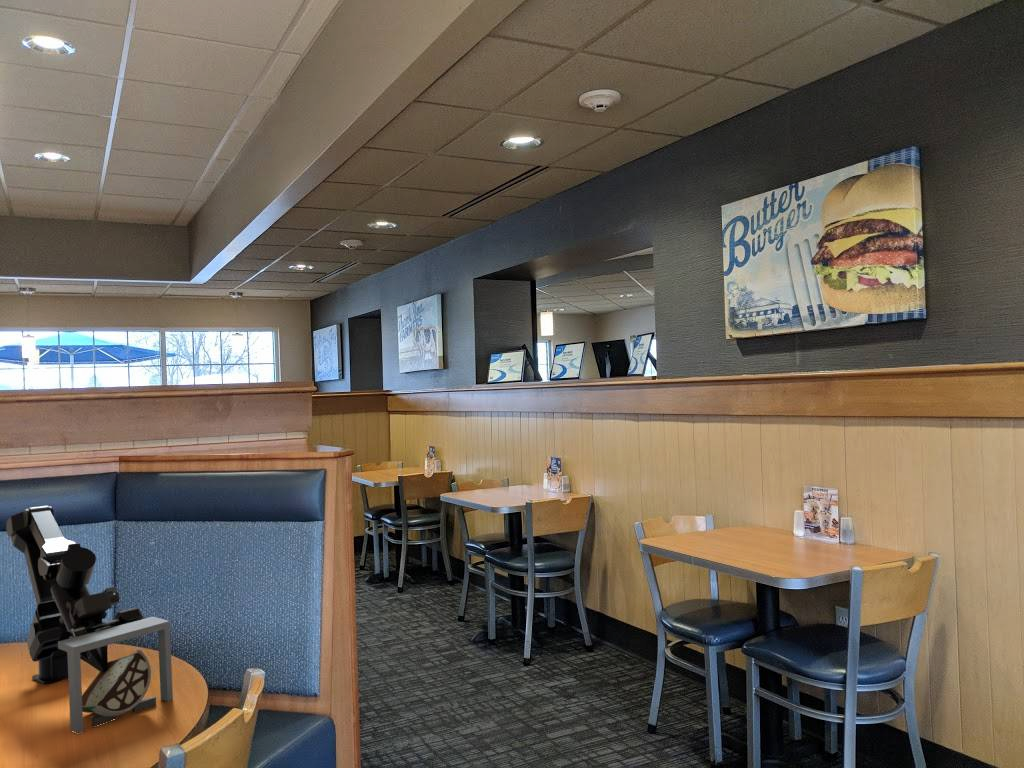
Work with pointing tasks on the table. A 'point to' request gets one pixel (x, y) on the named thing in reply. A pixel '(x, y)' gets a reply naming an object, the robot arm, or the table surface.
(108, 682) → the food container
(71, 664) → the overhang shelf
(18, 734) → the table surface
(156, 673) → the table surface
